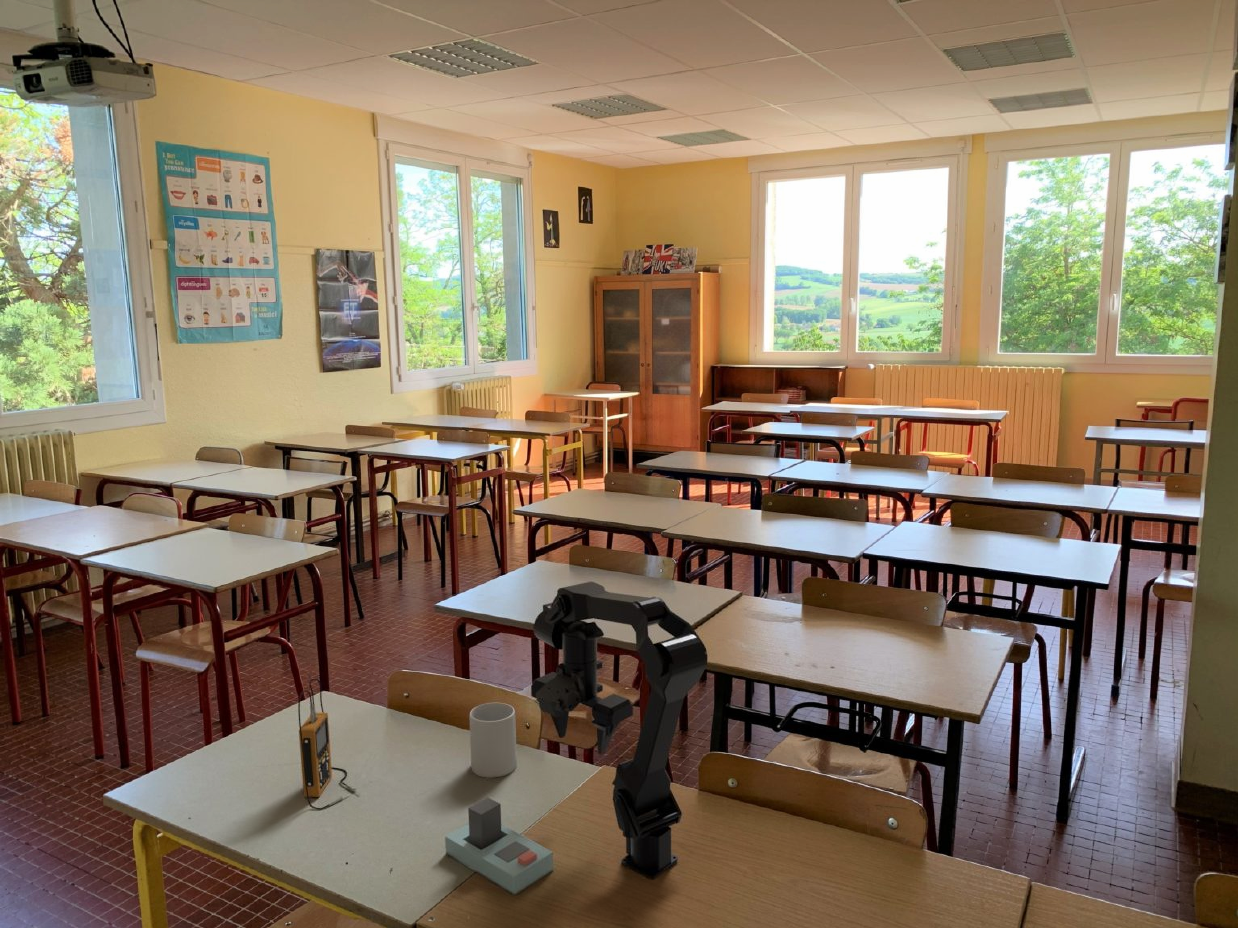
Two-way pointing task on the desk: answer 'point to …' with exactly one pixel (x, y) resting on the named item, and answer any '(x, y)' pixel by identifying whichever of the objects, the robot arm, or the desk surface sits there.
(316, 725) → the multimeter
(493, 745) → the mug
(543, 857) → the power strip
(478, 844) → the plug
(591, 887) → the desk surface
